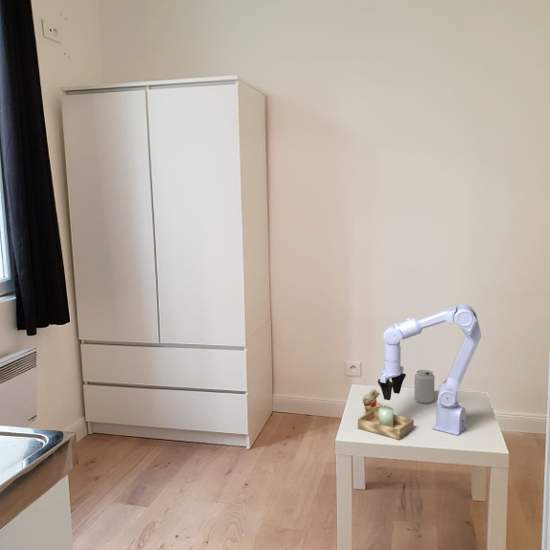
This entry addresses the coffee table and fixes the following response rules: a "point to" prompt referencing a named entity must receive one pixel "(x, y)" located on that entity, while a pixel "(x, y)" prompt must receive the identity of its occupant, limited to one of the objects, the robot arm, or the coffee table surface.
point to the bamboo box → (397, 432)
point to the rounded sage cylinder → (386, 416)
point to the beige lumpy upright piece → (371, 401)
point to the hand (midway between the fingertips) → (391, 396)
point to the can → (424, 386)
